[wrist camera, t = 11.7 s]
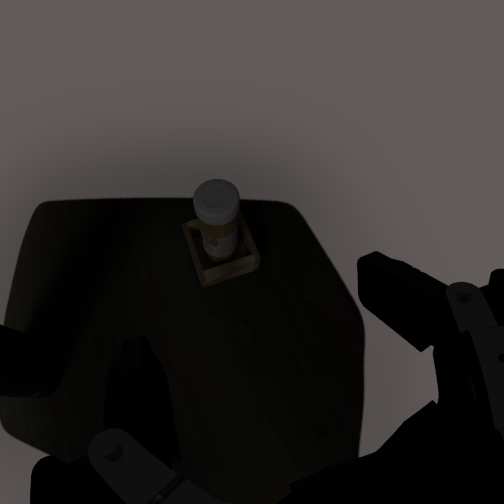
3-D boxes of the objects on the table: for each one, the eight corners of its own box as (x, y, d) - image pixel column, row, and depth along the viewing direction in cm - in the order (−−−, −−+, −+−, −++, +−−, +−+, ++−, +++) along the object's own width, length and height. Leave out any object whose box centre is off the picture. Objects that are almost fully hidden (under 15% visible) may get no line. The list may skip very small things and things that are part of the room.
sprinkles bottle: (198, 247, 40) (184, 189, 27) (227, 232, 41) (224, 170, 29) (215, 274, 38) (206, 223, 26) (244, 257, 39) (249, 202, 27)
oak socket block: (202, 288, 38) (199, 278, 34) (185, 237, 41) (181, 224, 37) (258, 269, 39) (260, 257, 36) (238, 220, 42) (238, 206, 39)
